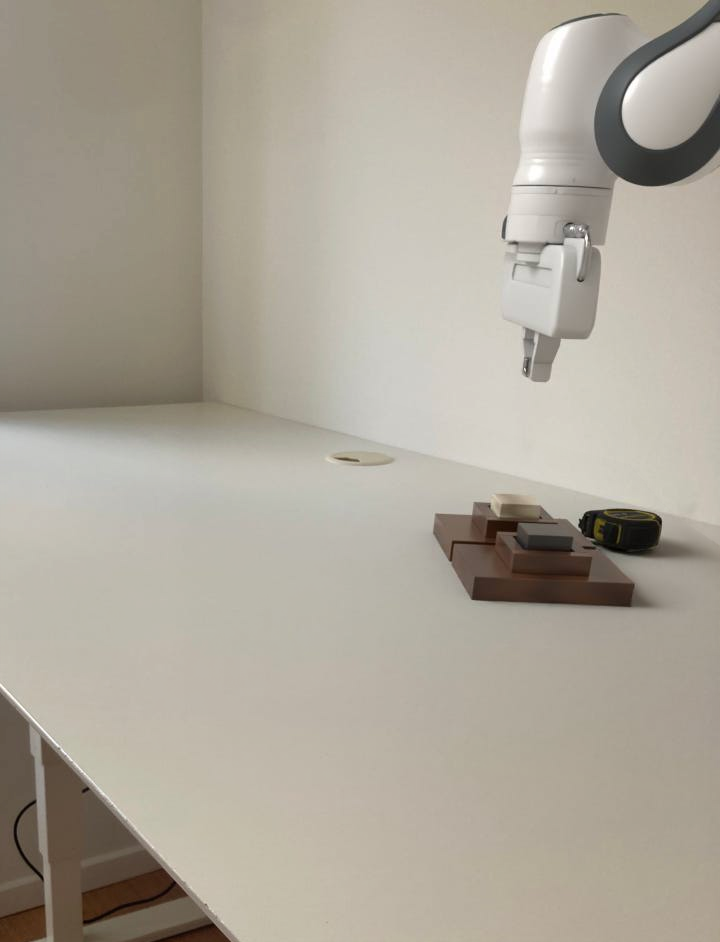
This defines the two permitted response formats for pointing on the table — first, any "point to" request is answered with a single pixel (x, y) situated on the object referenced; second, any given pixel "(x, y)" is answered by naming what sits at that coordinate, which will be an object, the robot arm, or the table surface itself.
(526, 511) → the ivory key
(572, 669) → the table surface
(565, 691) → the table surface
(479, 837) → the table surface
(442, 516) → the key block far
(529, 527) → the black key
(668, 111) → the robot arm
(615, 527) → the tape measure
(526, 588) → the key block near
